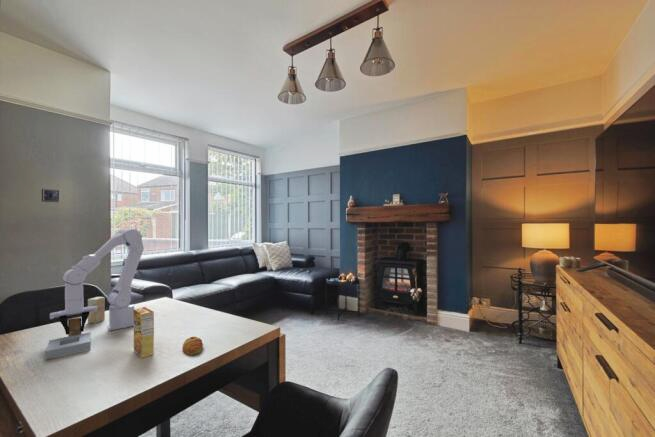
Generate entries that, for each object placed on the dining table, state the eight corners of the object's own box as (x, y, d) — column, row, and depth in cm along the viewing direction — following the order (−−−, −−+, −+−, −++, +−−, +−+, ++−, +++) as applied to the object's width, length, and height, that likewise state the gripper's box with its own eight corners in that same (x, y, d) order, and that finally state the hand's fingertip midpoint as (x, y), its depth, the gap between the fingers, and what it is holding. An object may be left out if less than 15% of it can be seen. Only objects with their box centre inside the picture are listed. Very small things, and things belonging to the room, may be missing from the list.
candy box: (132, 351, 106) (132, 309, 106) (146, 347, 109) (145, 306, 109) (141, 358, 100) (140, 314, 100) (155, 354, 103) (154, 311, 103)
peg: (81, 335, 121) (81, 316, 121) (81, 338, 118) (80, 318, 118) (68, 338, 119) (68, 318, 119) (68, 341, 116) (67, 321, 116)
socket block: (90, 339, 117) (90, 332, 117) (90, 349, 108) (90, 341, 108) (49, 348, 110) (49, 340, 110) (45, 360, 100) (45, 351, 100)
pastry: (205, 353, 104) (205, 342, 104) (184, 358, 100) (184, 347, 100) (200, 344, 112) (200, 334, 112) (181, 348, 108) (181, 338, 108)
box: (94, 323, 136) (94, 299, 136) (87, 322, 136) (86, 299, 136) (105, 319, 141) (105, 296, 141) (98, 319, 142) (97, 296, 142)
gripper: (97, 294, 126) (97, 325, 126) (51, 300, 117) (51, 334, 117) (97, 297, 121) (97, 330, 121) (48, 304, 112) (49, 339, 112)
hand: (74, 332), depth 119 cm, fingers closed on peg, 4 cm apart
